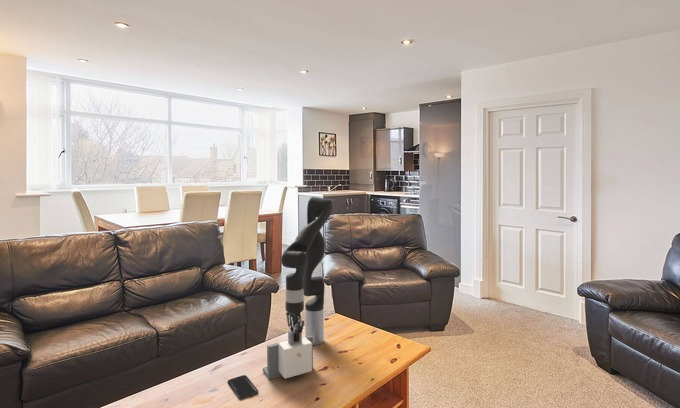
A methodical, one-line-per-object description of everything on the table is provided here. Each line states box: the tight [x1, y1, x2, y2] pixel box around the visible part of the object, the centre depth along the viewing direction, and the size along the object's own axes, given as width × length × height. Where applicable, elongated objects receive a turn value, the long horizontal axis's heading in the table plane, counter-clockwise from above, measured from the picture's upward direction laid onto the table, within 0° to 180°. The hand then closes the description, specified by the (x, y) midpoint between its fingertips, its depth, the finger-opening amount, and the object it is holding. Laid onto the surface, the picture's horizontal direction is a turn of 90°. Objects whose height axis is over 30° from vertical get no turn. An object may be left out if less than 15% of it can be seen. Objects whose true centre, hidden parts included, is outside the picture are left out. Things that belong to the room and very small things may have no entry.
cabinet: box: [277, 330, 313, 380], centre depth 154 cm, size 8×12×17 cm, turn 120°
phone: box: [227, 374, 259, 400], centre depth 148 cm, size 8×1×15 cm
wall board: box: [262, 335, 314, 381], centre depth 159 cm, size 12×20×14 cm, turn 120°
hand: (294, 339), depth 154 cm, fingers open, 3 cm apart
